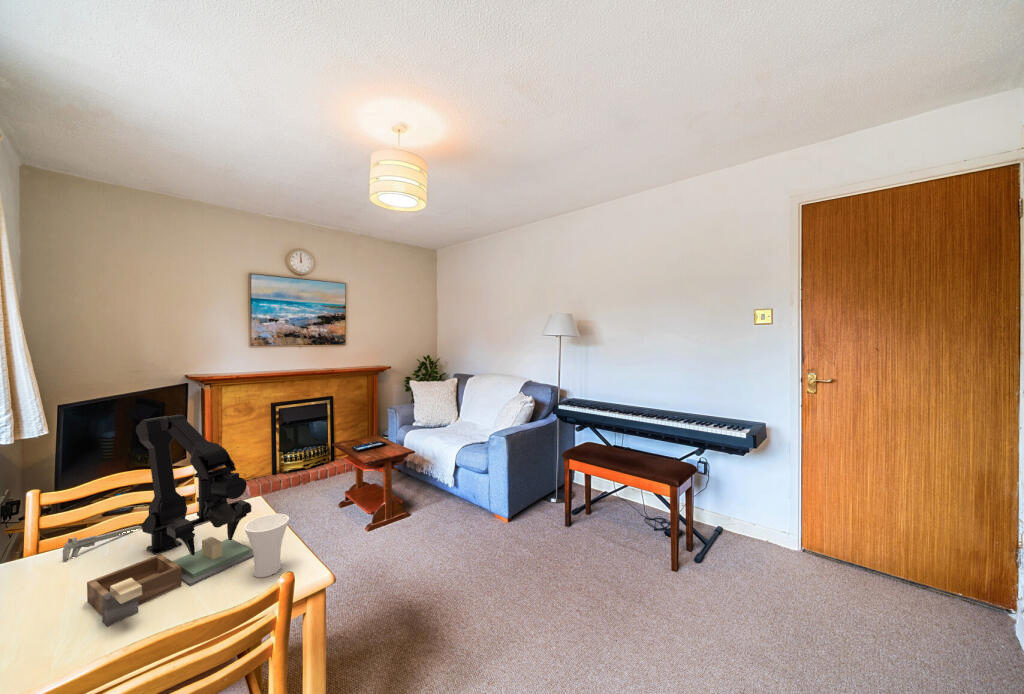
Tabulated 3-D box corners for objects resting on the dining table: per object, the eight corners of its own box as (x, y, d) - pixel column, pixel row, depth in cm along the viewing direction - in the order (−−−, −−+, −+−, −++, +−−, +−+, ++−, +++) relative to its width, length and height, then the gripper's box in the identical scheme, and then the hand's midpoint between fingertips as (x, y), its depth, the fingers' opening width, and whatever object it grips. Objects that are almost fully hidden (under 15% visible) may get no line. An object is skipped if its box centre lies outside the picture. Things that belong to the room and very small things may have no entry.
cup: (240, 570, 107) (239, 522, 107) (282, 555, 115) (282, 510, 115) (250, 587, 100) (250, 535, 100) (295, 570, 108) (294, 521, 108)
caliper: (65, 563, 111) (65, 541, 111) (62, 562, 111) (62, 540, 111) (144, 528, 131) (143, 509, 131) (141, 527, 131) (140, 509, 131)
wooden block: (110, 594, 88) (110, 586, 88) (131, 586, 91) (131, 577, 91) (120, 603, 85) (120, 594, 85) (142, 594, 88) (141, 585, 88)
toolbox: (83, 603, 94) (83, 578, 94) (161, 572, 107) (160, 550, 106) (107, 626, 87) (106, 599, 86) (187, 589, 99) (186, 566, 99)
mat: (162, 568, 108) (162, 565, 108) (230, 540, 123) (230, 538, 123) (189, 586, 101) (189, 584, 101) (259, 554, 116) (259, 552, 116)
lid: (172, 565, 109) (172, 546, 109) (228, 542, 121) (228, 525, 121) (192, 578, 103) (192, 559, 103) (249, 553, 115) (249, 535, 115)
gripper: (185, 512, 99) (185, 572, 100) (261, 487, 116) (262, 539, 116) (165, 503, 105) (166, 560, 105) (241, 480, 121) (241, 530, 122)
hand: (212, 547), depth 112 cm, fingers open, 9 cm apart
